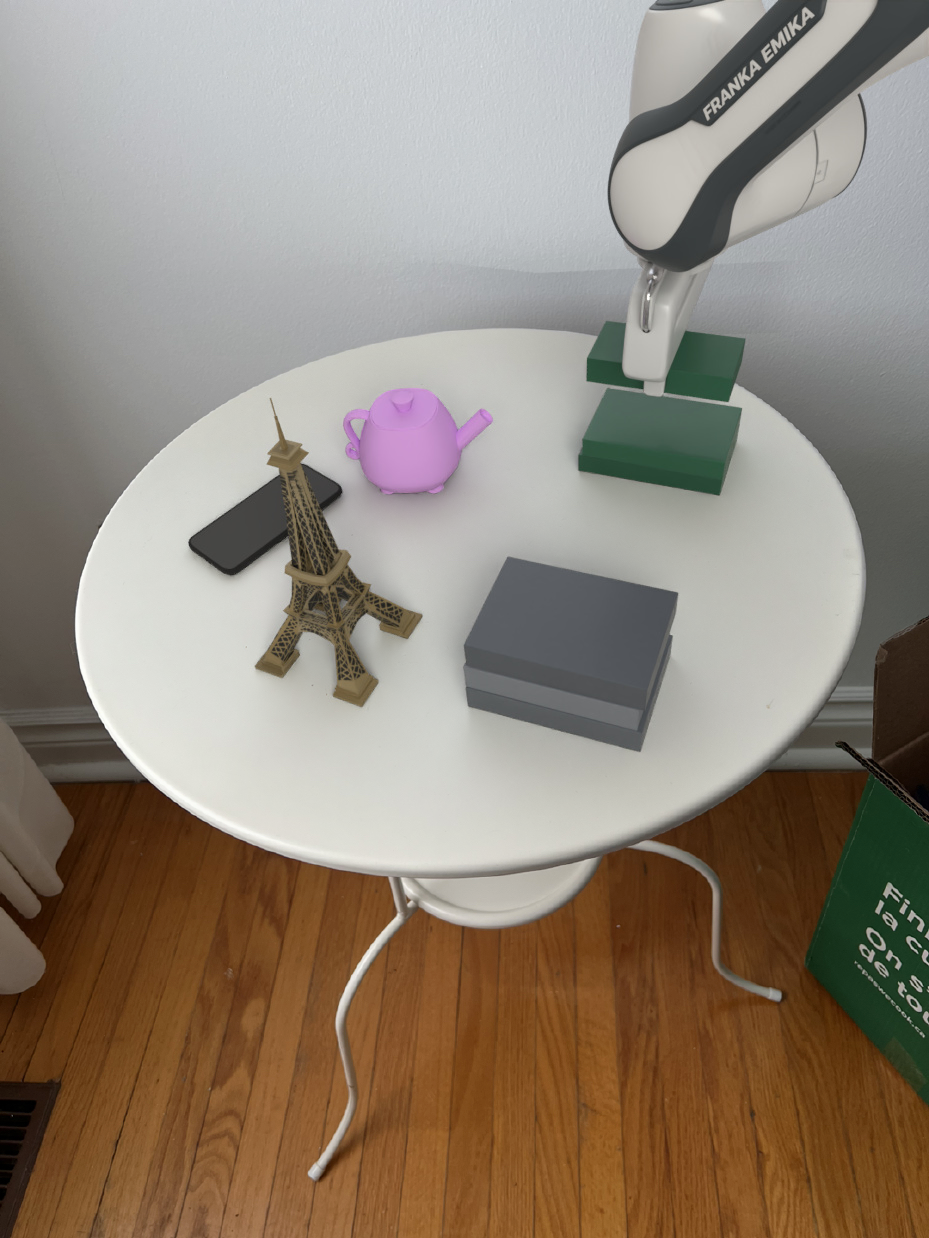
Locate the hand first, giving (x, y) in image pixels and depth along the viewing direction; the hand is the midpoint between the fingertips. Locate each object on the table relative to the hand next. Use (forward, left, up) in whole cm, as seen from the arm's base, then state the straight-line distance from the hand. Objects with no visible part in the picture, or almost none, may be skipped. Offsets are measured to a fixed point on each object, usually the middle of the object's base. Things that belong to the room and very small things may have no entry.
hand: (665, 367), depth 85 cm
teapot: (+22, +9, -10) cm, 26 cm away
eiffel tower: (+20, +32, -10) cm, 39 cm away
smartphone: (+34, +20, -10) cm, 41 cm away
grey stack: (0, +30, -10) cm, 32 cm away
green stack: (0, 0, -10) cm, 10 cm away
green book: (0, 0, -1) cm, 1 cm away
